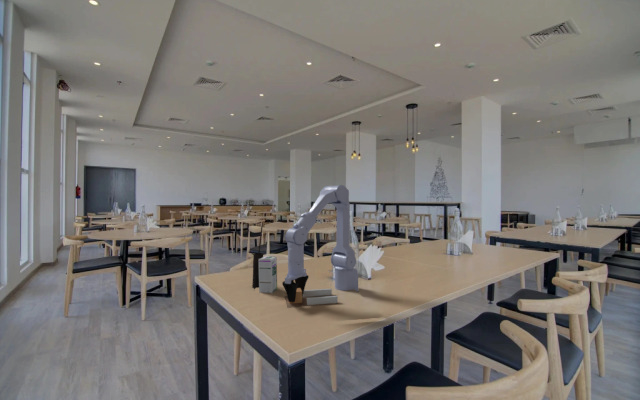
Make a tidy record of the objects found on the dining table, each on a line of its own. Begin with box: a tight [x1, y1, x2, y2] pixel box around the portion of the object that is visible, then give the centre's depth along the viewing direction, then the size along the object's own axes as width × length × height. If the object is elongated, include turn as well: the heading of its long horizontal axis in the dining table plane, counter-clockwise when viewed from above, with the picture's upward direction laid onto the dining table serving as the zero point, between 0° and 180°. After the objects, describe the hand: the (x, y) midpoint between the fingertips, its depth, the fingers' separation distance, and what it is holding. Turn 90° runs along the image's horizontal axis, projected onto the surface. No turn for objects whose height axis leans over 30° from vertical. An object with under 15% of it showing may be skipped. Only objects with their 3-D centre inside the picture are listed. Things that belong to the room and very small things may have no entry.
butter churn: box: [251, 222, 264, 289], centre depth 129 cm, size 9×10×28 cm
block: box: [289, 288, 302, 304], centre depth 108 cm, size 4×4×4 cm
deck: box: [284, 294, 339, 309], centre depth 109 cm, size 18×12×1 cm, turn 101°
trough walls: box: [303, 288, 339, 305], centre depth 110 cm, size 11×10×2 cm
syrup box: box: [258, 255, 278, 294], centre depth 121 cm, size 6×6×14 cm
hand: (296, 298), depth 108 cm, fingers open, 7 cm apart
